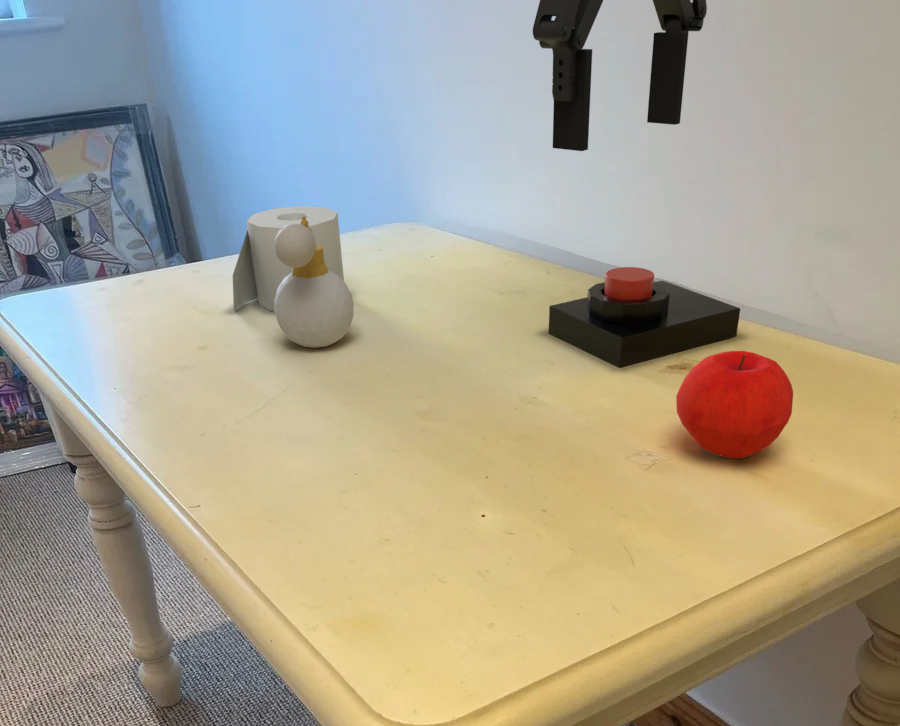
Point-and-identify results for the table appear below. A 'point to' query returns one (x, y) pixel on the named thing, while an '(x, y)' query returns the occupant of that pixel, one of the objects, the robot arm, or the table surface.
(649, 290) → the button
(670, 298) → the button base
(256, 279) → the toilet tissue
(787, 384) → the apple
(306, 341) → the perfume bottle
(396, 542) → the table surface
